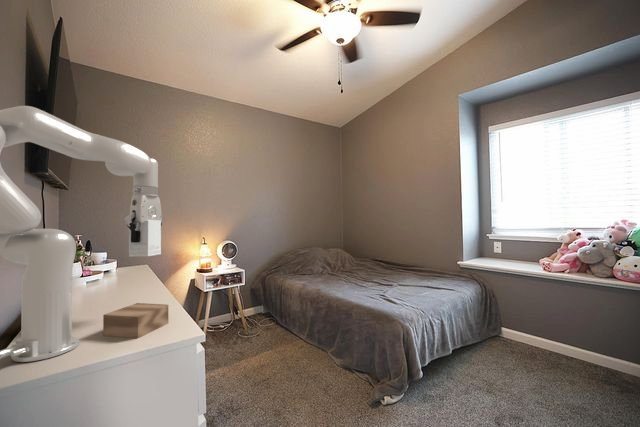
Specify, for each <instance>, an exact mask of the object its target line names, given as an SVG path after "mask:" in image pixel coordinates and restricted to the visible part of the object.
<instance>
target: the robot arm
mask: <svg viewBox="0 0 640 427" xmlns="http://www.w3.org/2000/svg"><path fill="white" fill-rule="evenodd" d="M21 143H22V144H24V143H32V144H35V145H38V146H40V147H43V148H46V149H49V150H52V151H54V152H56V153H60V154H63V155H65V156H67V157H69V158H73V159H75V160H76V159H77V160H83V161H90V162H91V161H94V162H105V168H106V169H107V171H108V172H109V173H111V174H113V175H114V176H119V177H132V178H133V182H132V183H133V187H132V188H131V189H132V190H131V191H132V192H133V193H132V194H133V195H132V196H131V199H130V200H131V202H130V207H129V214H128V215H127V216H125V217H124V219H123V221H124V222H125V224H126V227H127V228H128V231H129V230H130V231H131V242H132V243H138V242H140V231H138V230H139V228H140V226H141V223H142V224H144V223H145V220H161V227H162V226H163V223H164V221H165V218H163V216H162V204H161V203H162V202H161V200H160V197H159V192H158V191H159V163H158V161H157V160H156V159H155V158H153V157H150V156H149V155H148V154H147V153H146V152H144V151H143V150H142V149H139V148H137V147H135V146H134V145H132V144H129V143H126V142H125V141H121V140H119V139H116V138H115V139H114V138H112V137H108V136H104V135H101V134H96V133H93V132H89V131H87V130H85V129H82V128H81V127H78V126H76V125H74V124H72V123H70V122H67V121H66V120H64V119H61V118H60V117H57V116H55V115H53V114H51V113H49V112H46V111H45V110H43V109H42V110H41V109H40V108H37V107H34V106H31V105H30V106H29V105H18V106H13V107H8V108H4V109H0V155H1V153H2V150H3V149H4V148H7V147H11V146H14V145H17V144H21ZM136 220H137V221H138V222H135V221H136ZM41 221H42V214H41V212H40V209H39V207H38V206H37V205H36V204H35V203H34V202H33V201H32V200H31V199H30V198H29V197H28V196H27V195H26V193H24V192H23V191H22V190H21V189H20V188H19V187H18V185H16V184H15V183H14V182H13V180H12V179H11V178H10V177H9V176H8V175H7V174H6V171H5V170H4V169H3V167H2V163H1V162H0V256H1V257H3V258H4V259H5V260H7V261H9V262H11V263H14V264H17V265H25V266H26V267H25V269H24V272H23V275H22V279H21V289H20V290H21V291H20V293H21V294H20V295H21V309H20V310H21V313H20V314H21V316H20V317H21V318H20V319H21V325H20V326H21V328H20V330H21V333H20V334H21V335H20V338H19V339H15V344H13V345H11V347H7V348H4V349H1V350H0V360H2V359H5V358H7V357H11V360H12V361H13V362H17V363H28V362H37V361H41V360H47V359H50V358H54V357H57V356H59V355H63V354H65V353H67V352H70V351H72V350H74V349H75V348H77V347H78V345H79V344H80V338H79V337H76V336H72V335H73V334H72V333H73V332H72V331H73V327H72V326H73V325H72V324H73V323H72V322H73V317H72V316H73V310H72V309H73V308H72V306H73V295H72V294H73V286H72V282H73V281H72V280H73V279H72V278H73V267H74V262H75V257H76V253H77V245H76V241H75V239H74V237H73V236H72V235H71V234H70V233H68V232H67V231H64V230H61V229H59V228H57V229H56V228H36V227H38V226H39V225H40V223H41ZM135 224H137V225H136V226H135Z"/></svg>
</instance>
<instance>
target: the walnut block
mask: <svg viewBox="0 0 640 427" xmlns="http://www.w3.org/2000/svg"><path fill="white" fill-rule="evenodd" d="M102 315H103V316H102V317H103V319H102V321H103V322H102V323H103V324H102V325H103V327H102V328H103V336H104V337H105V336H106V337H107V336H108V337H109V336H110V337H116V338H117V337H121V338H129V339H134V338H135V339H139V338H142V337H144V336H145V335H147V334H149V333H151V332H154V331H155V330H157V329H159V328H161V327H163V326H165V324H166V325H168V324H169V304H164V303H161V304H160V303H146V302H145V303H144V302H143V303H142V302H141V303H140V302H136V303H133V304H130V305H127V306H124V307H122V308H118V309H116V310H113V311H109V312H108V313H104V314H102ZM167 323H168V324H167Z"/></svg>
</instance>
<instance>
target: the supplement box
mask: <svg viewBox="0 0 640 427" xmlns="http://www.w3.org/2000/svg"><path fill="white" fill-rule="evenodd" d="M135 222H138V221H137V220H136V221H135ZM136 225H137V224H135V226H136ZM138 231H140V242H138V243H132V242H131V231H130V230H129V229H128V257H129V258H130V257H132V258H133V257H153V256H157V255H162V226H161V220H145V223H144V224H142V223H141V226H140V228H139V230H138Z"/></svg>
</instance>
